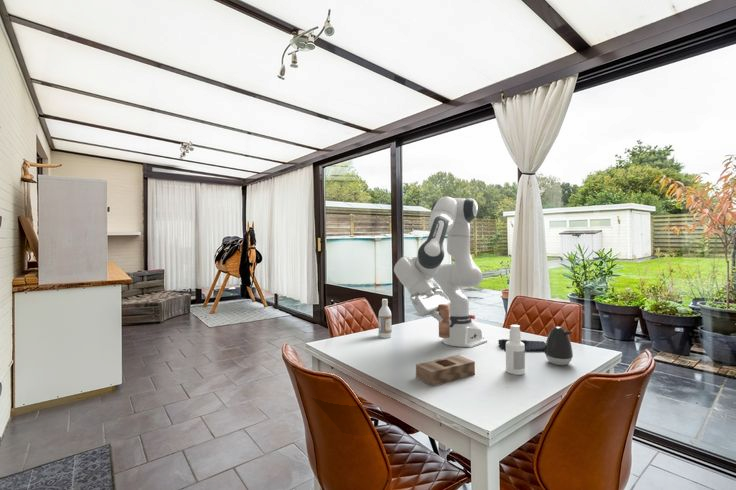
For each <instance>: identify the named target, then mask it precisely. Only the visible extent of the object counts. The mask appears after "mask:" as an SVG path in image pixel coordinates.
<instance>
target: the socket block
mask: <svg viewBox="0 0 736 490" xmlns="http://www.w3.org/2000/svg"><path fill="white" fill-rule="evenodd" d="M475 366H476V362H475V361H474V360H471V359H470V358H467V357H465V356H462V355H459V354H457V355H451V356H447V357H442V358H439V359H434V360H430V361H429V360H428V361H425V362H420V363H417V364H415V378H416V379H418V380H419V381H421V382H423V383H425V384H427V385H428V386H430V387H434V386H439V385H442V384H446V383H449V382H453V381H456V380H460V379H465V378H468V377H471V376H475V375H476V374H475V373H476V371H475V369H476V367H475Z"/></svg>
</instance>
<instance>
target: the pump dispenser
mask: <svg viewBox="0 0 736 490" xmlns="http://www.w3.org/2000/svg"><path fill="white" fill-rule="evenodd" d="M572 334H573V332H572V331H571V330H567V331H566V330H565V328H563V326H554V327H553V328H551V329H550V331H549V333H548V334H547V338H546V340H545V343H546V345H545V351H544V354H545V357H546V359H547V361H548V362H549V363H551V364H553V365H554V366H566V365H568V364H570V363H571V361H572V358H573V356H574V353H573V347H572V346H573V345H572V341H571V339H570V337H569V335H572Z"/></svg>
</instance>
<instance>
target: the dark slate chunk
mask: <svg viewBox="0 0 736 490" xmlns="http://www.w3.org/2000/svg"><path fill="white" fill-rule="evenodd" d="M509 340H510V339H508V338H507V339H504V338H503V339H498V340H497V342H498V346H499V347H500V349H502V350H503V351H505V352H506V342H507V341H509ZM521 342H523V343H524V344H525V351H526V352H545V345H546V341H543V340H542V341H541V340H539V341H538V340H526V339H521Z"/></svg>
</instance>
